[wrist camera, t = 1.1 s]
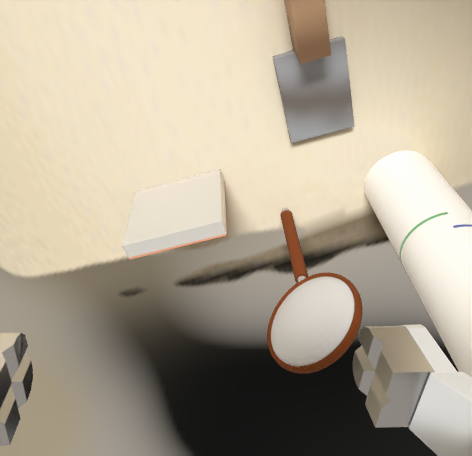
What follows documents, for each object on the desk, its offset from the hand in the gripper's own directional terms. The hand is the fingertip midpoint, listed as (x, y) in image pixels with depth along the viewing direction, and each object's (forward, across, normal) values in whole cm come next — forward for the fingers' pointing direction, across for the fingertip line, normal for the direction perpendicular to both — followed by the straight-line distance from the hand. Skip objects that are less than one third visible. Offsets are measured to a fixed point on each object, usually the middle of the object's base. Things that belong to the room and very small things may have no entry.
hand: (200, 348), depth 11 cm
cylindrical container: (+33, -22, +9) cm, 40 cm away
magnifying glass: (+34, -10, +13) cm, 38 cm away
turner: (+31, -9, -7) cm, 33 cm away
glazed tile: (+34, +1, +10) cm, 35 cm away
